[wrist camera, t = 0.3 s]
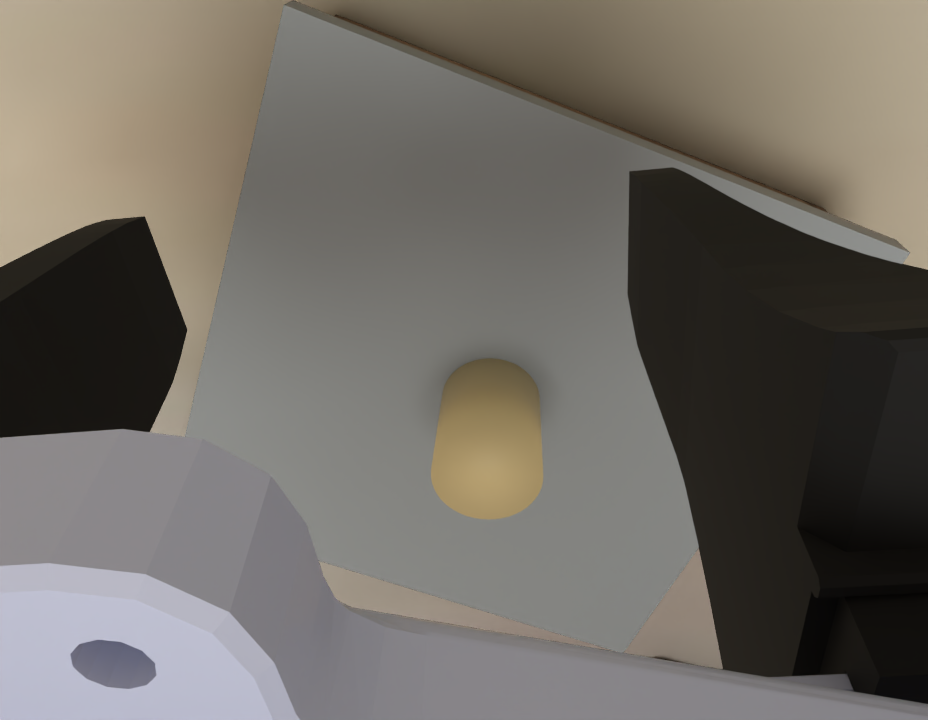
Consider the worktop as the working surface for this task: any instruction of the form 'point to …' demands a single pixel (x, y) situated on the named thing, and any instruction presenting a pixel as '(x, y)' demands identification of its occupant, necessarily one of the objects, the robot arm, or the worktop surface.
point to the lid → (454, 334)
